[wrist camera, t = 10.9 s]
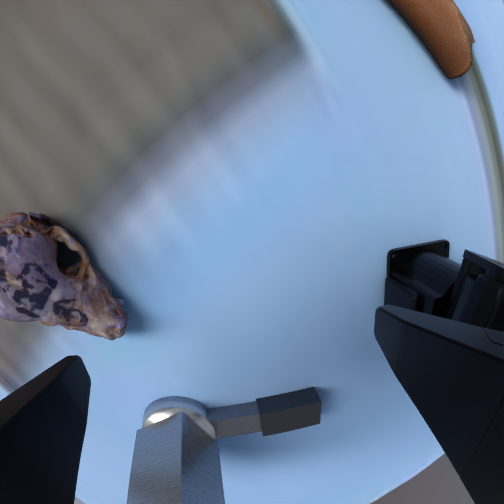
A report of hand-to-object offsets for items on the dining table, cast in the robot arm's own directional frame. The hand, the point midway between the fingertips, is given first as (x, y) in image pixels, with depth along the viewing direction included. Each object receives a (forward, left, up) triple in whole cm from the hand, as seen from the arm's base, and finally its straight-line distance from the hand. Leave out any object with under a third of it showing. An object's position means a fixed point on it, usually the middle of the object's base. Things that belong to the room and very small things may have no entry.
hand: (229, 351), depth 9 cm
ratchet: (+1, +16, -13) cm, 21 cm away
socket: (+6, +16, -11) cm, 20 cm away
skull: (+12, +1, -13) cm, 18 cm away
